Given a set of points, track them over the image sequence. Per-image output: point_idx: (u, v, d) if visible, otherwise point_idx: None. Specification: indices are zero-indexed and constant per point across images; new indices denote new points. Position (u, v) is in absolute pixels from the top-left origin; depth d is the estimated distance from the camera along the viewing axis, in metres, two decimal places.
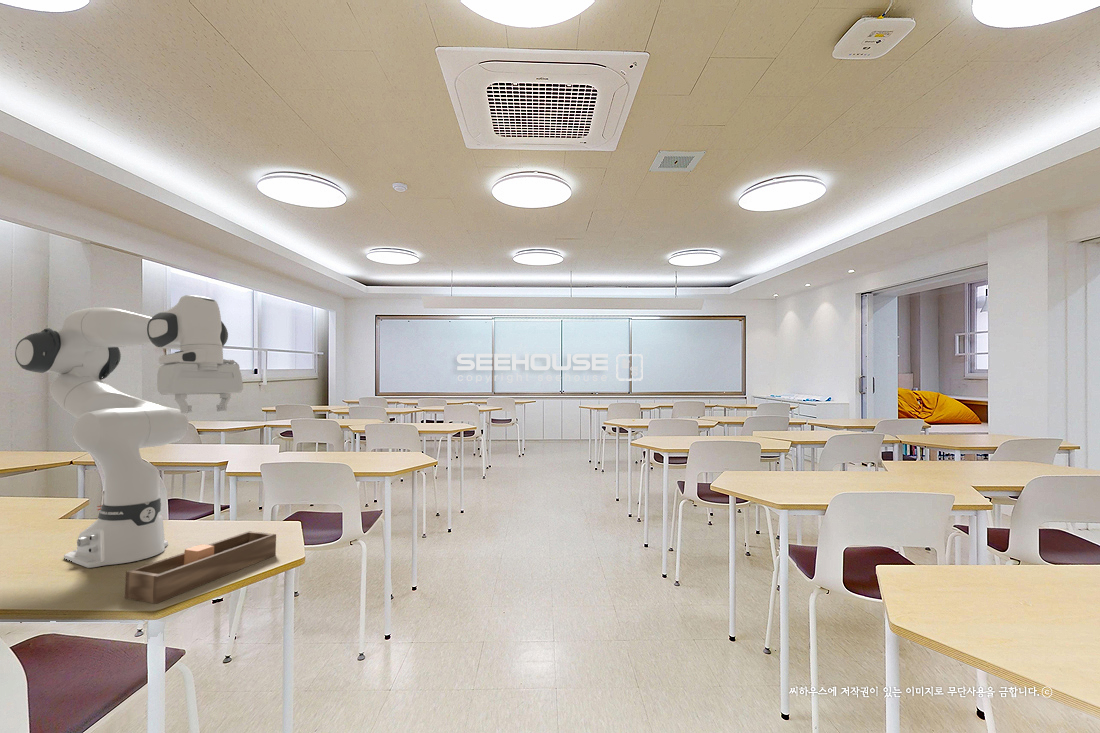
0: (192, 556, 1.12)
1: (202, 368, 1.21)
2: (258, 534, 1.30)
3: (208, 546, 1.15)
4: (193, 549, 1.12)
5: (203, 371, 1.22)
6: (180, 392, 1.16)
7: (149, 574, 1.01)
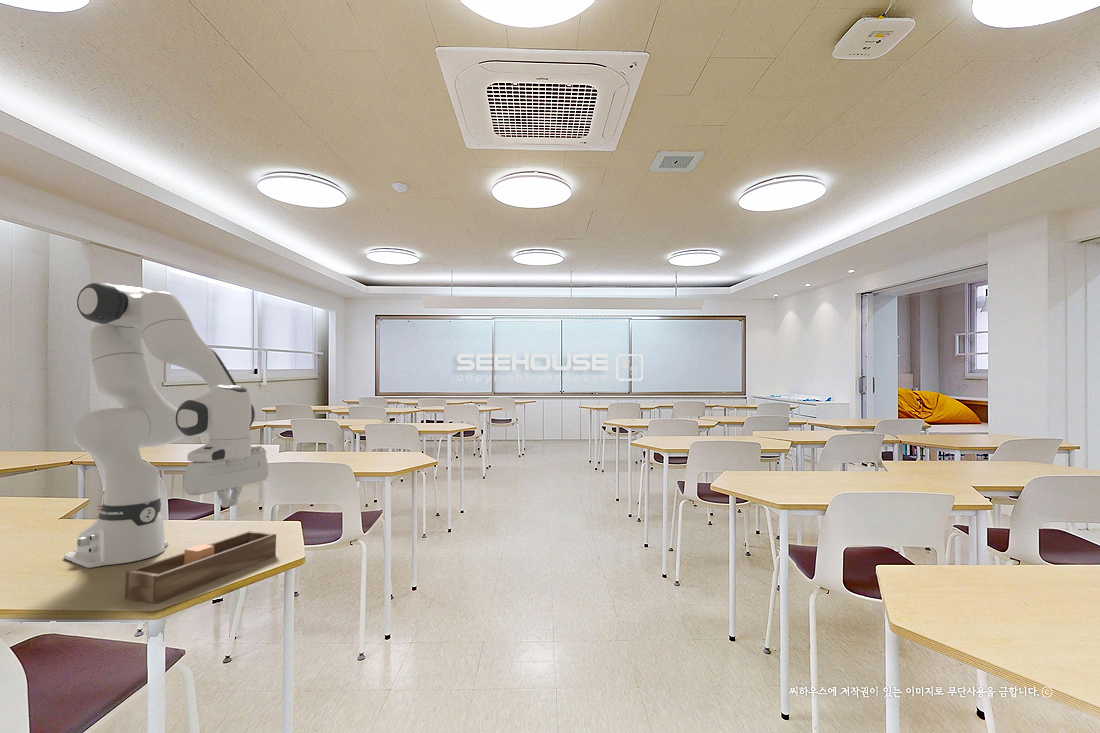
0: (192, 556, 1.12)
1: (230, 464, 1.18)
2: (258, 534, 1.30)
3: (208, 546, 1.15)
4: (193, 549, 1.12)
5: (231, 465, 1.19)
6: (207, 492, 1.13)
7: (149, 574, 1.01)
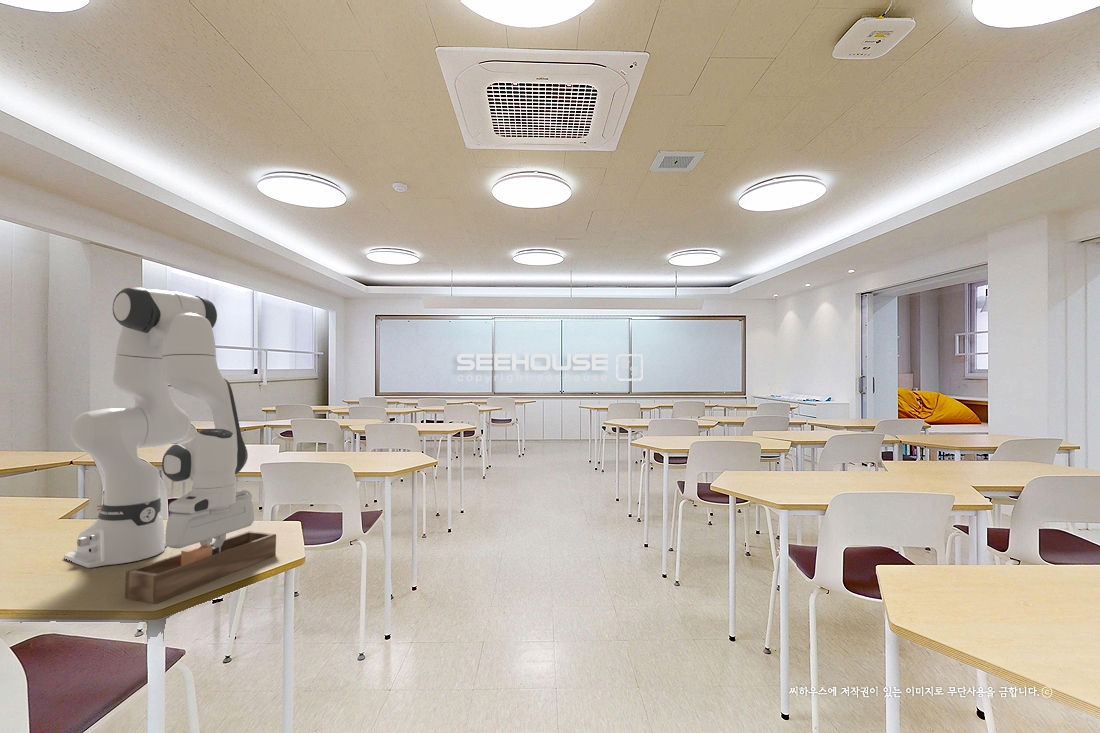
0: (189, 557, 1.11)
1: (213, 513, 1.14)
2: (258, 534, 1.30)
3: (205, 547, 1.14)
4: (190, 550, 1.12)
5: (214, 514, 1.15)
6: (189, 544, 1.09)
7: (149, 574, 1.01)
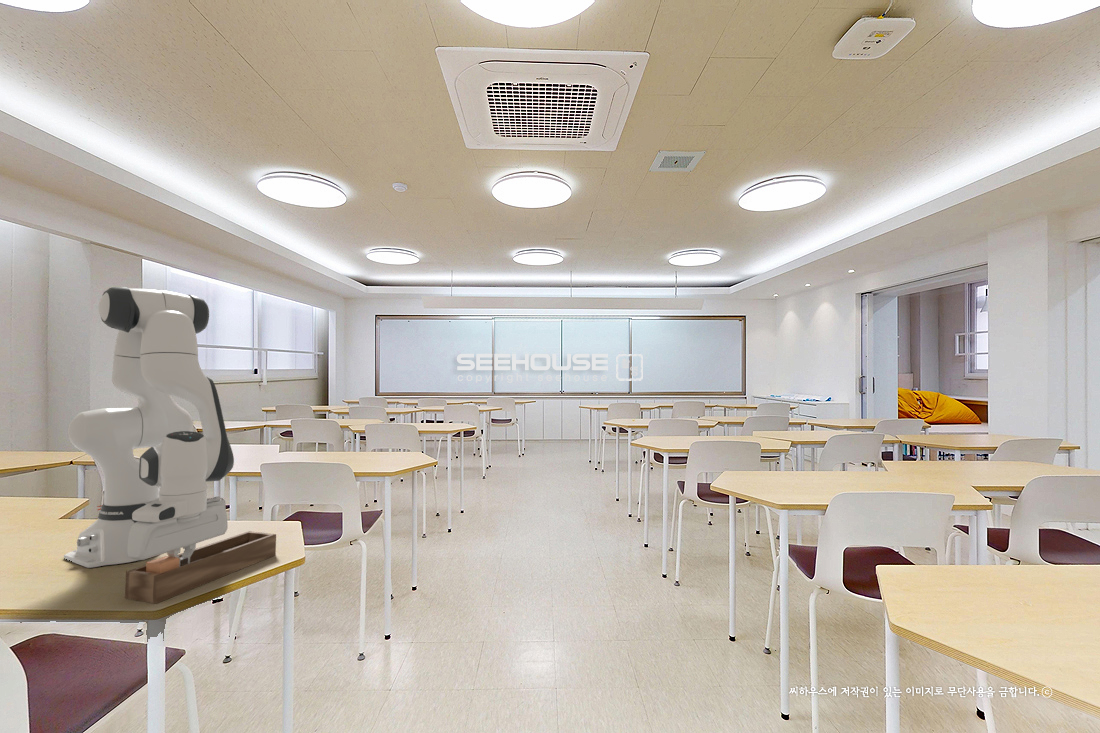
0: (154, 569, 1.04)
1: (181, 521, 1.07)
2: (258, 534, 1.30)
3: (173, 558, 1.07)
4: (156, 562, 1.04)
5: (182, 522, 1.08)
6: (153, 555, 1.02)
7: (149, 574, 1.01)
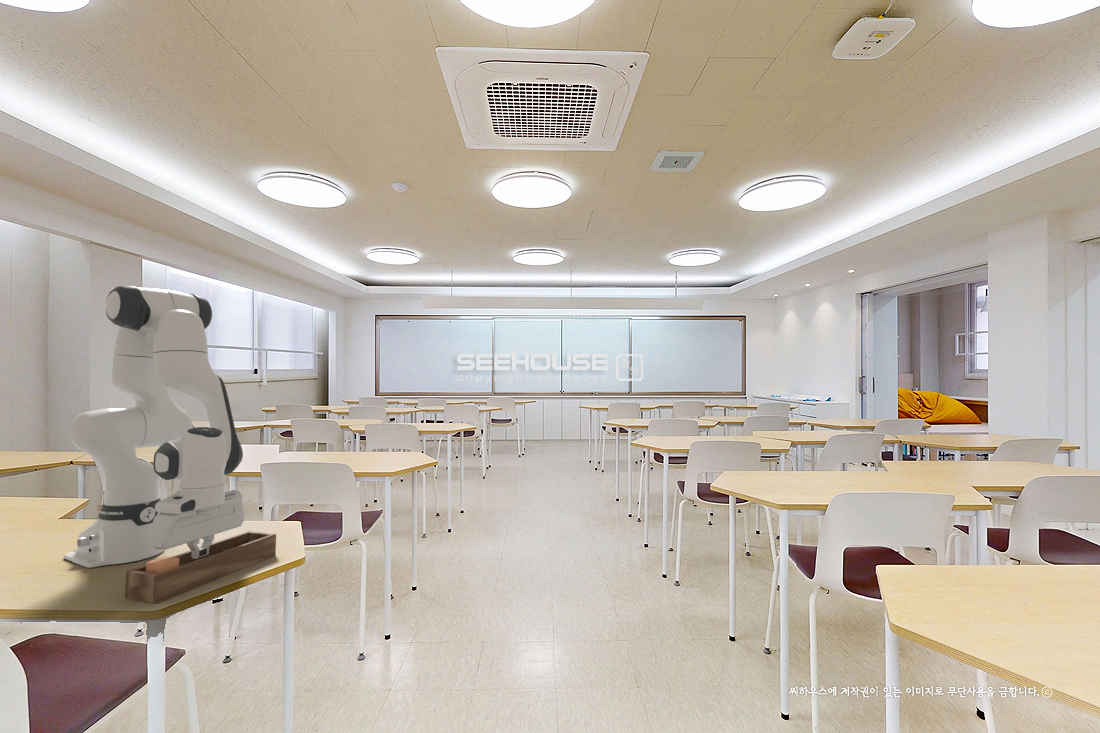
0: (154, 569, 1.03)
1: (201, 513, 1.12)
2: (258, 534, 1.30)
3: (172, 558, 1.07)
4: (155, 562, 1.04)
5: (202, 514, 1.13)
6: (175, 545, 1.07)
7: (149, 574, 1.01)
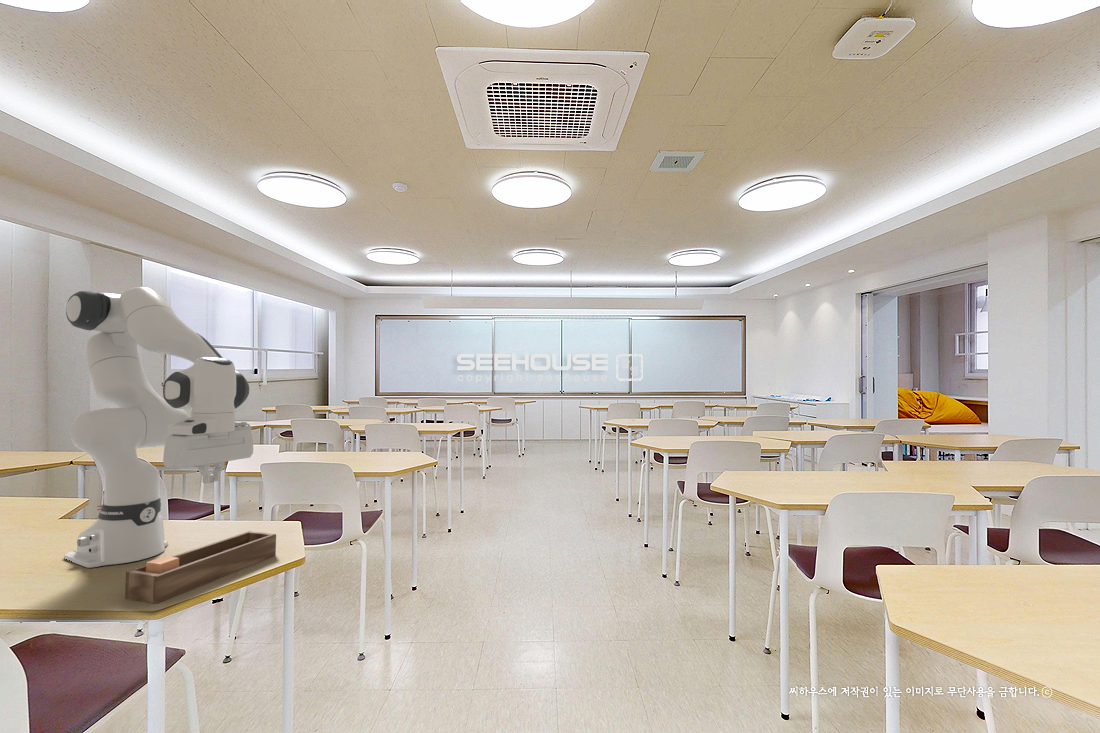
0: (154, 569, 1.03)
1: (211, 438, 1.15)
2: (258, 534, 1.30)
3: (172, 558, 1.07)
4: (155, 562, 1.04)
5: (213, 440, 1.16)
6: (187, 466, 1.10)
7: (149, 574, 1.01)
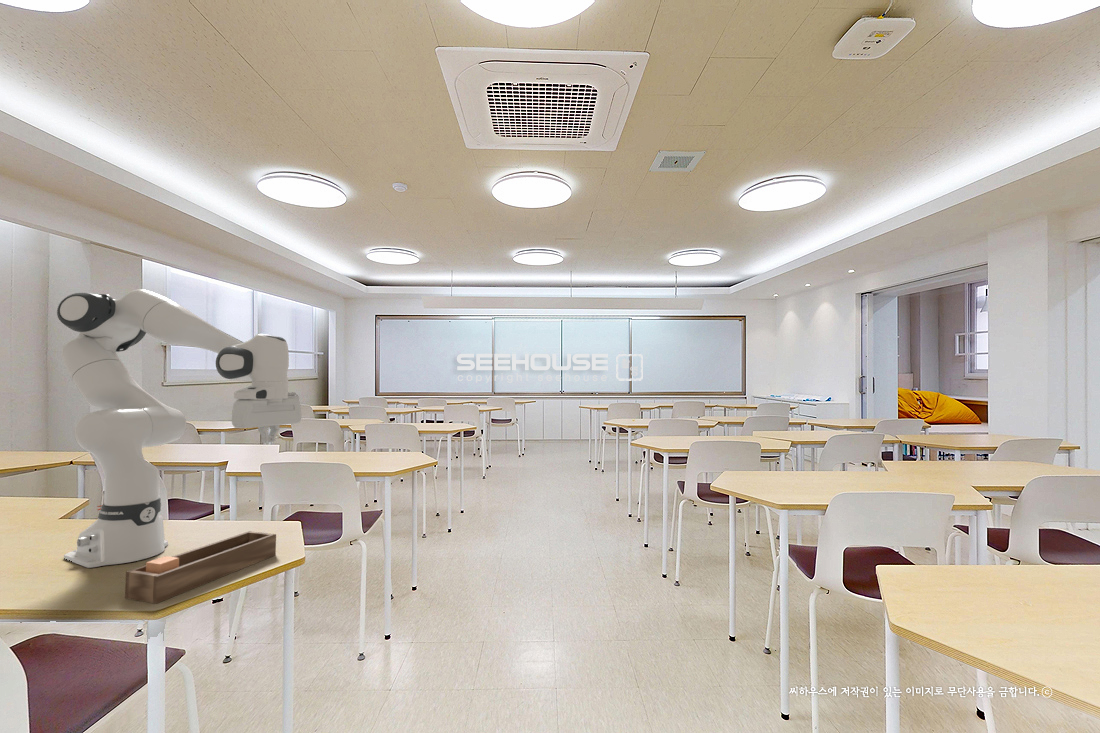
0: (154, 569, 1.03)
1: (270, 404, 1.33)
2: (258, 534, 1.30)
3: (172, 558, 1.07)
4: (155, 562, 1.04)
5: (270, 406, 1.34)
6: (251, 426, 1.28)
7: (149, 574, 1.01)
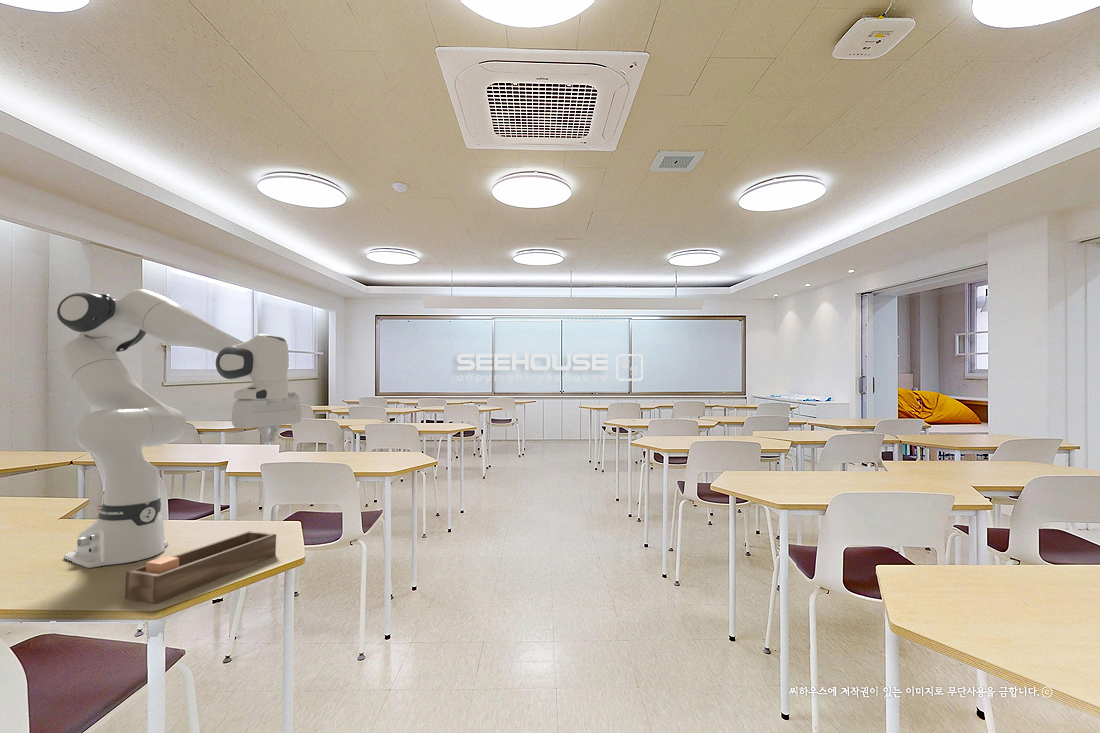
0: (154, 569, 1.03)
1: (270, 404, 1.33)
2: (258, 534, 1.30)
3: (172, 558, 1.07)
4: (155, 562, 1.04)
5: (270, 406, 1.34)
6: (251, 426, 1.28)
7: (149, 574, 1.01)
